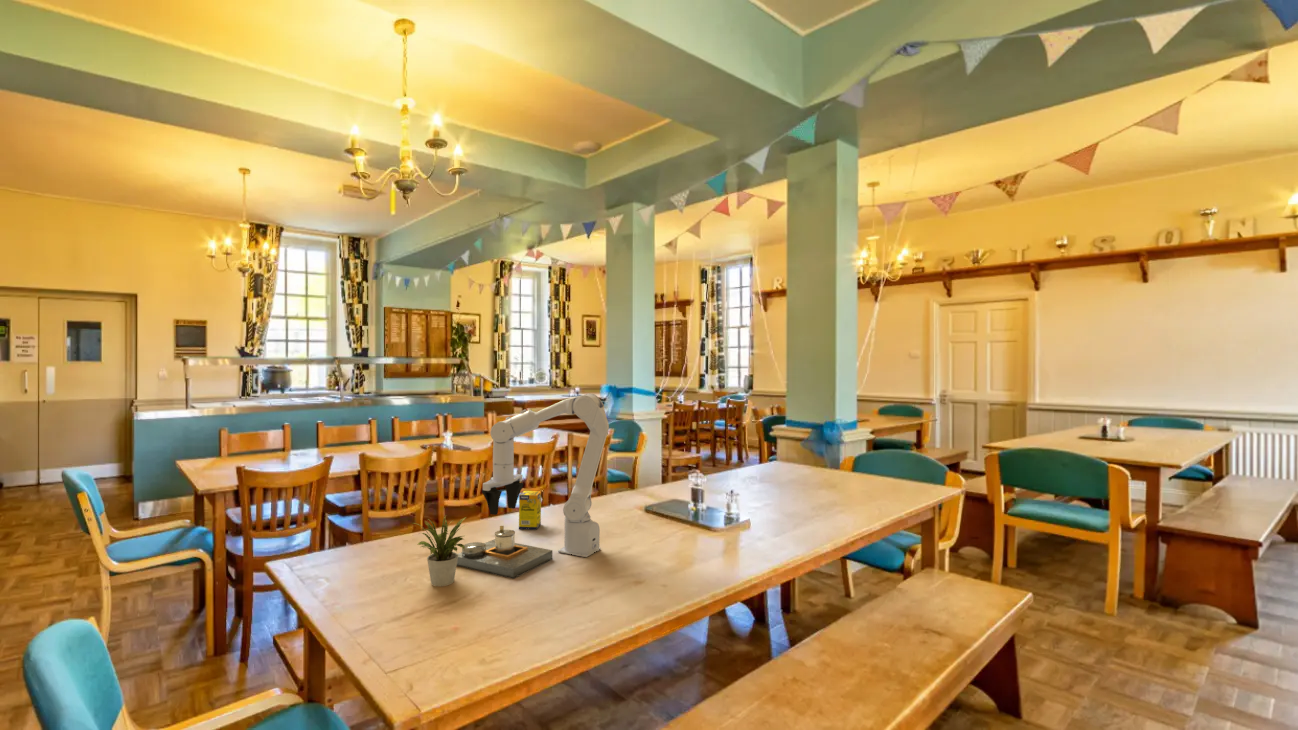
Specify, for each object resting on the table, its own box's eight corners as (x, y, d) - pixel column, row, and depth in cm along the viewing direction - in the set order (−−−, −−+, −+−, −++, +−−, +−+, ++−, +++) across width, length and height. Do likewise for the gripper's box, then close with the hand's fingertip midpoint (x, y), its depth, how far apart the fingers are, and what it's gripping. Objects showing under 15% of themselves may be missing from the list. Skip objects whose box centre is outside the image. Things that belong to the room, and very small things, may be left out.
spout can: (518, 558, 157) (519, 526, 157) (504, 563, 153) (504, 531, 153) (505, 554, 160) (505, 523, 160) (490, 560, 156) (490, 527, 156)
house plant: (400, 597, 132) (401, 525, 131) (408, 575, 145) (409, 509, 145) (467, 592, 136) (467, 521, 135) (469, 570, 149) (469, 506, 149)
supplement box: (537, 529, 185) (537, 495, 184) (518, 529, 185) (518, 494, 185) (541, 524, 191) (541, 490, 190) (522, 524, 191) (523, 490, 191)
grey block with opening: (552, 559, 158) (552, 542, 158) (513, 578, 144) (513, 560, 144) (494, 547, 167) (494, 532, 167) (452, 564, 153) (452, 548, 153)
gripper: (509, 458, 175) (508, 503, 175) (474, 466, 162) (474, 515, 162) (528, 460, 172) (527, 506, 172) (494, 468, 159) (493, 518, 159)
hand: (502, 511), depth 167 cm, fingers open, 7 cm apart
